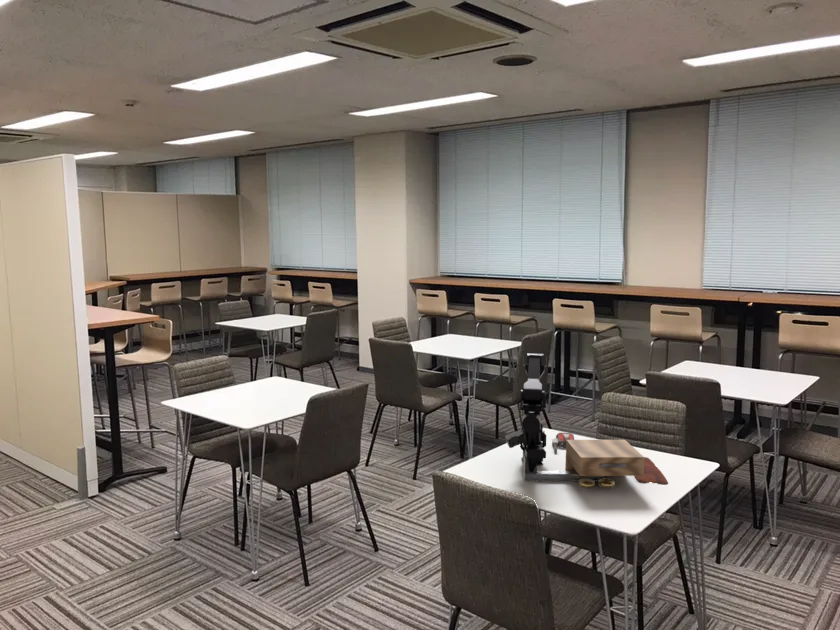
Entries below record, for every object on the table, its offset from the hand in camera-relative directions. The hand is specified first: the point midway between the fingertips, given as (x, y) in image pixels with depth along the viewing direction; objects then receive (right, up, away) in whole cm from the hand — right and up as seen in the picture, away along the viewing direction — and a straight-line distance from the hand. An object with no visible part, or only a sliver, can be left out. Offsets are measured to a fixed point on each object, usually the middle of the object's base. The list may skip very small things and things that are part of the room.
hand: (530, 470), depth 218 cm
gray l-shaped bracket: (+11, -3, +1) cm, 11 cm away
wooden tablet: (+42, -3, +11) cm, 43 cm away
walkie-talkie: (+19, 0, +36) cm, 41 cm away
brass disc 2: (+24, -4, -4) cm, 25 cm away
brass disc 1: (+18, -4, -4) cm, 19 cm away
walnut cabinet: (+23, -4, -3) cm, 24 cm away
